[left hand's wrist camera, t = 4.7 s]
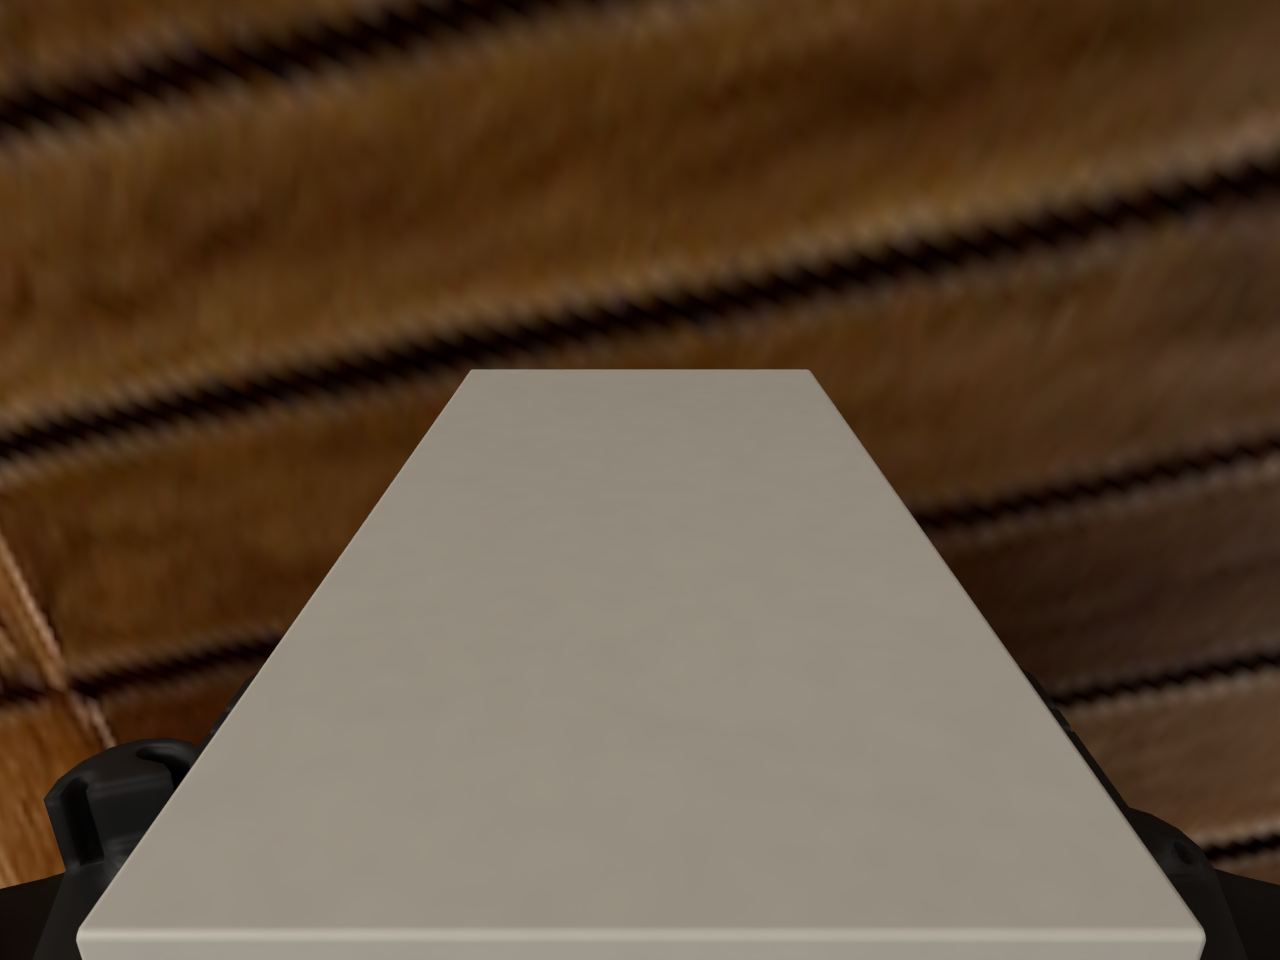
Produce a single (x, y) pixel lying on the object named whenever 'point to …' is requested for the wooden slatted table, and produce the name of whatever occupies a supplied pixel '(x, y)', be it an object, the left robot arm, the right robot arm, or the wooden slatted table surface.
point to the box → (640, 718)
